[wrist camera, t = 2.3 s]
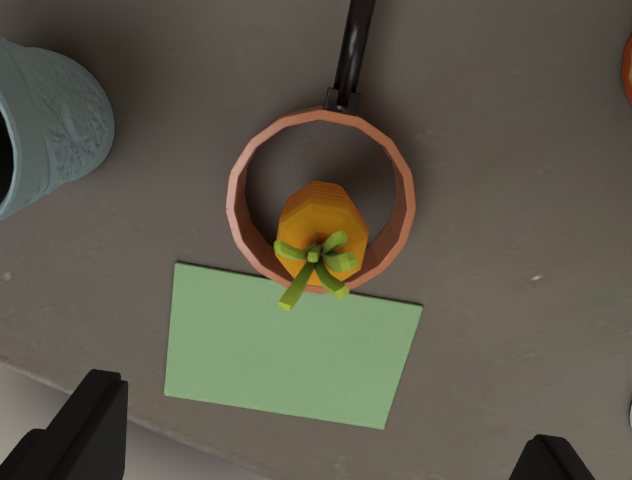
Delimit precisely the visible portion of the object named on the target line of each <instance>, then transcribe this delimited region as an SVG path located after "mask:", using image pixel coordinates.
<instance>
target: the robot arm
mask: <svg viewBox="0 0 632 480" xmlns="http://www.w3.org/2000/svg"><path fill="white" fill-rule="evenodd" d="M127 403H128V382H127V381H123V380H121V375H120V373H117V372H110V371H103V370H97V369H92V370H91V371H90V372H89V373H88V374H87V375H86V376H85V378H84V379H83V380H82V382H81V383H80V384H79V386H78V387H77V388H76V390H75V391H74V392H73V394H72V395H71V396H70V398H69V399H68V400H67V402H66V403H65V404H64V406H63V407H62V408H61V410H60V411H59V412H58V414H57V415H56V416H55V418H54V419H53V420H52V422H51V423H50V424H49V426H48V427H47V428H46V430H44V429H32V430H31V431H29V432H28V433H27V434H26V435H25V436H24V437H23V438H22V439H21V440H20V441H19V443H18V444H17V445H16V447H15V448H14V449H13V451H11V453H10V454H9V455H8V457H7V458H6V459H5V460H4V461H3V463H2V464H1V465H0V480H122V478H123V475H124V470H125V449H126V427H127V426H126V425H127ZM630 424H631V428H632V405H631V410H630ZM509 480H595V479H594V477H593V476H592V474H591V473H590V471H589V470H588V469H587V467H586V466H585V464H584V463H583V462H582V460H581V459H580V457H579V456H578V454H577V453H576V452H575V450H574V449H573V447H572V446H571V445H570V443H569V442H568V441H567V440H566V439H564V438H562V437H555V436H548V435H542V434H538V435H536V436H535V437H534V438H533V439H532V440H529V441H528V442H527V443H526V445H525V448H524V450H523V452H522V454H521V456H520V458H519V460H518V462H517V464H516V466H515V468H514V470H513V472H512V474H511V476H510V478H509Z"/></svg>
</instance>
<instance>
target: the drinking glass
mask: <svg viewBox="0 0 632 480" xmlns="http://www.w3.org/2000/svg"><path fill="white" fill-rule="evenodd" d="M114 133H115V122H114V114H113V111H112V107H111V104H110V101H109V99H108V97H107V95H106V93H105V91H104V90H103V88H102V87H101V85H100V83H99V82H98V81H97V80H96V78H95V77H94V76H93V75H92V74H91V73H90V72H89V71H88V70H86V69H85V68H84V67H83V66H81V65H80V64H78V63H77V62H76V61H74V60H72V59H71V58H69V57H67V56H65V55H62V54H59V53H57V52H53V51H49V50H46V49H42V48H34V47H24V46H21V45H18V44H16V43H12V42H10V41H8V40H6V39H4V38H0V221H2V220H4V219H6V218H7V217H9V216H11V215H13V214H14V213H16V212H18V211H19V210H21V209H22V208H23V207H26V206H28V205H30V204H32V203H33V202H35V201H37V200H38V199H40V198H41V196H43V195H48V194H51V193H52V192H53V191H54V190H55V189H57V188H58V187H59V186H61V185H62V184H64V183H66V182H70V181H75V180H78V179H80V178H81V177H83V176H85V175H87V174H89V173H90V172H92V171H93V170H95V169H96V168H97V167H98V166H99V165H100V164H101V163H102V162H103V161H104V160H105V158H106V157H107V155H108V153H109V151H110V149H111V146H112V143H113V139H114Z"/></svg>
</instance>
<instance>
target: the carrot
mask: <svg viewBox="0 0 632 480" xmlns="http://www.w3.org/2000/svg"><path fill="white" fill-rule="evenodd" d="M368 236H369V232H368V229H367V227H366V224H365V222H364V220H363V218H362V216H361V214H360V212H359V211H358V209H357V208H356V206H355V205H354V204H353V202H352V201H351V199H350V198H349V196H348V195H347V194H346V192H345V191H344V189H343V188H342V187H341V186H339V185H337V184H333V183H328V182H322V181H316V180H314V181H312V182H311V183H309V184H308V185H307V186H305V187H304V188H302V189H301V190H299V191H298V192H296V193H295V194H294V195H292V196H291V197H290V198H289V199H288V200H287V202H286V204H285V206H284V208H283V210H282V213H281V216H280V221H279V227H278V234H277V240H276V241H275V242H274V250H275V255H276V257H277V258H278V259H279V261H280V262H281V263H282V264H283V266H284V267H285V268H286V269H287V271H288V272H289V273H290V274H291V276H292V277H293V278H294V280H293V282H292V283H291V285H290V286H289V287H288V289H287V290H286V291H285V293H284V294H283V296H282V297H281V299H280V300H279V303H278V307H279V308H281V309H283V310H286V311H290V310H291V309H292V308H293V307H294V306H295V304H296V303H297V301H298V300H299V298H300V297H301V295H302V293H303V291H304V289H305V287H306V285H307V284H308V285H314V286H321V287H324V288H325V289H326V290H327V291H328V292H329V293H330V294H331V295H333V296H334V297H336V298H337V299H338V300H339V299H341V298H343V297H345V296H346V295H347V294H348V293H349V288H348V287H347V286H346V285H345V284H344V283H343V282H342V281H343V280H345V279H347V278H348V277H350V276H351V275H353V274H355V273H356V272H358V271H359V270H360V269H361V266H362V262H363V257H364V253H365V249H366V245H367V240H368Z"/></svg>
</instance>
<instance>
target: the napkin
mask: <svg viewBox="0 0 632 480" xmlns="http://www.w3.org/2000/svg"><path fill="white" fill-rule="evenodd" d="M286 290H287V288H285V287H283V286H281V285H280V284H278V283H276V282H275V281H273V280H271V279H269V278H265V277H260V276H254V275H249V274H243V273H237V272H232V271H226V270H220V269H215V268H209V267H203V266H198V265H192V264H187V263H181V262H176V263H175V271H174V283H173V295H172V306H171V318H170V330H169V342H168V353H167V365H166V377H165V389H164V395H166V396H173V397H179V398H186V399H192V400H198V401H205V402H211V403H218V404H224V405H230V406H237V407H243V408H249V409H256V410H262V411H269V412H275V413H281V414H288V415H294V416H300V417H307V418H313V419H320V420H326V421H332V422H339V423H345V424H352V425H358V426H364V427H371V428H377V429H384V426H385V423H386V420H387V417H388V414H389V411H390V408H391V405H392V402H393V399H394V396H395V393H396V390H397V386H398V383H399V380H400V377H401V374H402V371H403V368H404V365H405V362H406V359H407V356H408V353H409V350H410V347H411V343H412V340H413V337H414V334H415V331H416V328H417V325H418V322H419V319H420V316H421V313H422V310H423V305H418V304H412V303H406V302H401V301H395V300H389V299H384V298H378V297H373V296H367V295H361V294H356V293H350V292H349V293H348V294H347V295H346V296H345V297H343V298H341V299H339V300H338V299H337V298H336V297H334V296H333V295H331V294H330V293H326V294H315V293H309V292H304V291H303V293H302V295H301V297H300V298H299V300H298V301H297V303H296V304H295V306H294V307H293V308H292V309H291V310H290V311H286V310H283V309H281V308H279V307H278V303H279V300H280V299H281V297H282V296H283V294H284V293H285V291H286Z"/></svg>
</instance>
